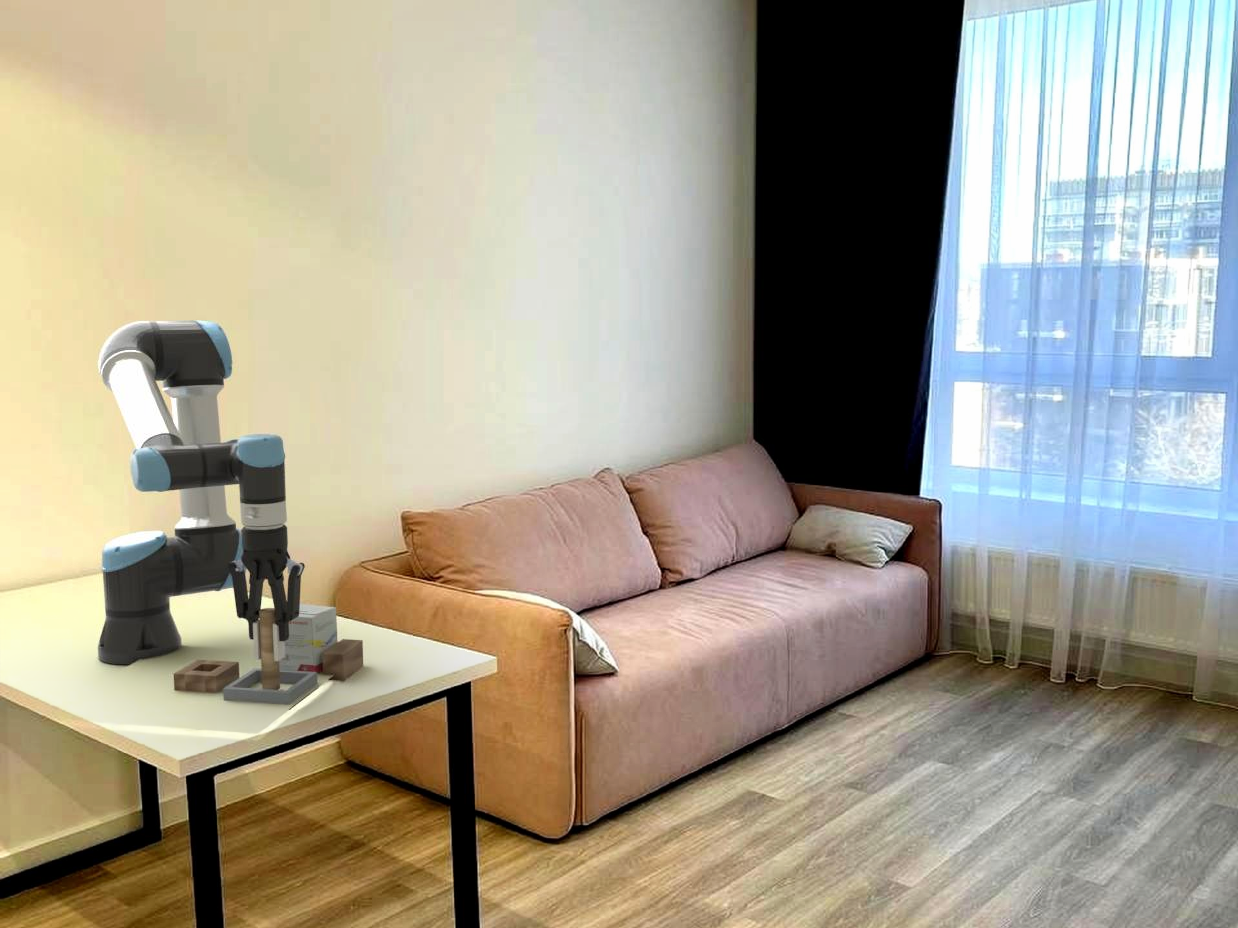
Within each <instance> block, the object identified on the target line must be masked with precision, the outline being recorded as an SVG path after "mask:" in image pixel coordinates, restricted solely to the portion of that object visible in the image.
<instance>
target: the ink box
mask: <svg viewBox="0 0 1238 928" xmlns="http://www.w3.org/2000/svg"><path fill="white" fill-rule="evenodd" d="M337 620H338V619H337V607H334V606H326V605H313V604H306V603H305V604H303V603H300V608H299V616H298V617H296V618H295V619H293V620H291V621H289V638H288V639H287V640H286V641H285V657H284V658H282V659H281V660H279V669H280V670H290V671H306V672H317V674H319V673H321V672H323V661H322V653H324V652H325V651H326V650H328V649H329V648H331V647H332V646H334V645H335V644H336V643H338V642H339V641H338V623H337Z"/></svg>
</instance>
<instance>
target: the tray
mask: <svg viewBox="0 0 1238 928" xmlns="http://www.w3.org/2000/svg"><path fill="white" fill-rule="evenodd" d="M239 677H240V678H239V679H237V680H236V681H234V682H232V683H231V684H229V685H228V686H226V687H225V688H223V689H222V691H223V692H222V693H223V695H222V696H223V701H233V702H244V703H248V702H250V703H260V704H261V703H262V704H263V703H264V704H273V705H274V704H276V705H277V704H278V705H290V704H292V703H294V702H295V701H296V700H298V699H299V698H300V697H301V696H303V695H304V694H305V693H307V692H308V691H309V690H311V689H312V688H313V687H315V686H316V685H317V684H318V673H317V672H306V671H290V670H280V684H292V686H290V687H289V688H288V689H286V690H285V689H284V690H283V689H278V690H270V689H262V688H254V687H251V686H253V685H254V684H256V683H258V682H260V683H262V670H261V668H256V667H254V668H252V669H251V670H249V671H247V673H245V674H242V676H239ZM317 690H318V687H316V688H315V689H313V690H312V691H311V692H310V693H309V694H307V695H305V696H304V698H302V699H301V700H299V701H298V702H297V703H295V704H294V705H293V706H291V707H290V708H289V709H288V711H289V710H291V709H293V708H294V707H295V706H296V705H298V704H299V703H300V702H302V701H304V700H305V699H306V698H307V697H308V696H310V695H312V693H314V692H315V691H317Z"/></svg>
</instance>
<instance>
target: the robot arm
mask: <svg viewBox="0 0 1238 928" xmlns="http://www.w3.org/2000/svg"><path fill="white" fill-rule="evenodd" d="M223 329H224V328H222V327H221V326H220V325H219V324H218V323H216V322H215V321H210V320H209V321H208V320H197V319H195V320H194V319H193V320H168V321H167V320H164V321H163V320H162V321H161V320H160V321H159V320H158V321H157V320H153V321H148V320H140V321H134V322H131V323H129V324H126V325H124V326H122V327H119V328H118V329H117V330H116V331H114V332H113V333H112V334H111V335H110V336H109V337H108V338H107V340H106V341H105V342H104V345H103V346H102V348H101V351H100V353H99V358H98V371H99V374H100V378H101V380H102V382H103V385H104V386H105V387H106V388H107V389H108V390H109V391H111V392H112V393H113V394H114V397H115V400H116V402H117V404H118V406H119V409H120V411H121V414H122V417H123V419H124V422H125V424H126V426H127V429H128V431H129V433H130V436H131V439H132V442H133V443H134V446H135V449H134V450H132V453H131V455H130V461H129V462H130V467H129V468H130V474H131V479H132V485H133V486H134V488H135V489H136V490H137V491H139V492H145V493H146V492H147V493H151V492H158V493H161V492H169V491H177V490H179V502H180V514H181V518H180V520H179V521H178V522H177V523H176V525H175V526H174V536H172V537H167V536H168V535H166V533H165V532H164V531H161V530H149V531H147V530H145V531H139V532H135V533H134V532H133V533H129V534H126V535H122V536H119V537H116V538H114V539H112V540H110V541H109V542H107V543H106V544H105V545H104V546H103V549H102V552H101V567H100V569H101V571H102V578H103V579H102V580H103V595H104V596H103V597H104V609H105V613H104V614H105V618H104V619H105V620H104V623H103V626H102V630H101V634H100V637H99V641H98V644H97V657H98V660H99V661H100V662H103V663H107V664H112V665H132V664H133V665H134V663H137V662H138V661H141V660H147V659H154V658H159V657H162V656H166V655H168V654H171V653H174V652H176V651H177V650H179V649H180V648H181V647H182V637H181V634H180V632H179V630H178V626H177V624H176V622H175V620H174V618H173V615H172V613H171V605H170V604H171V602H170V600H171V599H170V598H172V597H178V596H179V597H180V596H185V595H195V594H200V593H208V592H213V591H215V592H220V591H222V590H227V589H232V588H233V596H234V604H235V612H236V617H237V618H238V619H244V620H246V621H247V623H248V624H247V625H248V637H249V639H250V640H251V641H252V640H253V656H254V658H253V659H254V660H255V661H259V660H261V648H260V625H259V610H260V609H262V608H261V607H262V602H263V601H262V600H263V599H262V598H263V592H264V591H263V590H264V589H263V588H264V582H265V581H266V580H267V584H268V586H269V587H270V592H271V593H270V594H271V598H272V603H273V608H274V609H275V614H276V619H277V621H276V622H275V623H274V624H273V644H274V661H279V660H281V659H282V658H284V657H285V641H286V640H287V639H288V638H289V621H291V620H293V619H295V618H296V617H298V616H299V608H300V604H301V603H300V601H301V588H302V587H301V584H302V582H301V580H302V574H303V572H304V570H305V567H306V565H305V563H304V562H299V563H298V562H297V561H294V560H292V559H291V555H290V554H289V551H288V545H289V540H288V539H289V538H288V527H287V526H286V523H287V522H288V515H287V497H286V494H287V493H286V492H287V491H286V467H285V465H286V464H285V459H286V454H285V448H284V447H285V446H284V441H283V438H282V437H281V436H280V435H277V434H271V433H270V434H269V433H257V434H256V433H255V434H246V435H243V436H241V437H239V438H236V439H235V438H234V439H229V440H227V441H225V442H224V441H223V442H221V439H222V438H221V430H220V429H221V428H220V416H219V405H218V403H219V402H218V395H219V394H220V393H221V391H222V390H223V389H224V388H225V382H224V380H227V379H229V378H230V377H232V373H233V356H232V355H233V354H232V350H231V346H230V343H229V339H228V337H227V335H226V333H225V331H224V330H223ZM157 382H161V388H162V392H164V393H165V394H166V395H167V396H168V397H170V400H171V407H172V414H171V413H170V410H169V408H168V406H167V403H166V401H165V398H164V396H163V395H162V393H161V390H160V388H159V385H158V384H157ZM234 485H238V486H239V488H238V489H239V504H240V505H239V508H240V524H241V525H242V526H243V527H242V528H241V529H239V528H237V523H236V521H235V520H234V519H233V518H232V517H231V516H229V514H228V511H227V499H226V487H225V486H234ZM286 568H287V573H288V574H289V575H288V578H287V591H285V584H284V582H285V576H284V571H286ZM247 571H248V573H249V579H248V581H249V582H248V583H249V591H248V587H247V586H248V583H247V577H246V574H247ZM286 592H287V595H286Z"/></svg>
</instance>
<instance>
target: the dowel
mask: <svg viewBox="0 0 1238 928" xmlns="http://www.w3.org/2000/svg"><path fill="white" fill-rule="evenodd" d="M276 621H277V619H276V614H275V609H274V607H265V608H261V609H260V610H259V625H260V648H261V659H260V664H261V665H260V666H261V667H260V669H261V670H262V682H261V689H270V690H281V683H280V669H279V661H274V644H273V624H274V623H275V622H276Z"/></svg>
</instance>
